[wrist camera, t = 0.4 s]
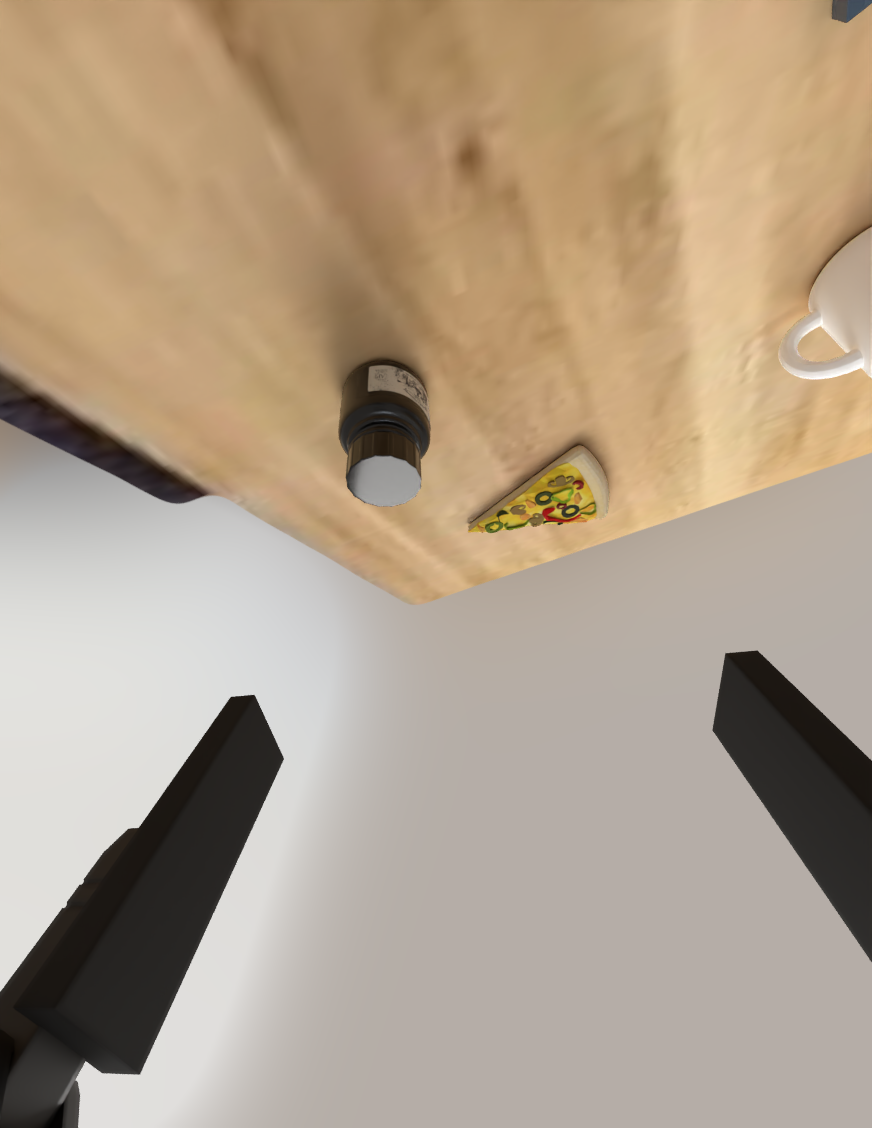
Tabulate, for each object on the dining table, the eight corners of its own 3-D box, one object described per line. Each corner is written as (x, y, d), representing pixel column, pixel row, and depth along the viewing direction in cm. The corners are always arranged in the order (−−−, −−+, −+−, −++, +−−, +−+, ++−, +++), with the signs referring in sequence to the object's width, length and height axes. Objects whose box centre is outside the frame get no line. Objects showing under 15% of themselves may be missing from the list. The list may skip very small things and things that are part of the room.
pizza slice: (614, 504, 61) (620, 521, 59) (487, 548, 69) (489, 563, 68) (593, 435, 49) (599, 453, 48) (442, 497, 57) (444, 514, 56)
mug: (761, 361, 42) (815, 430, 37) (749, 298, 36) (809, 368, 31) (926, 271, 35) (1020, 340, 30) (941, 177, 30) (1059, 240, 24)
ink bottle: (446, 407, 45) (454, 491, 38) (384, 445, 49) (382, 526, 43) (387, 335, 38) (385, 424, 31) (321, 387, 42) (308, 474, 36)
